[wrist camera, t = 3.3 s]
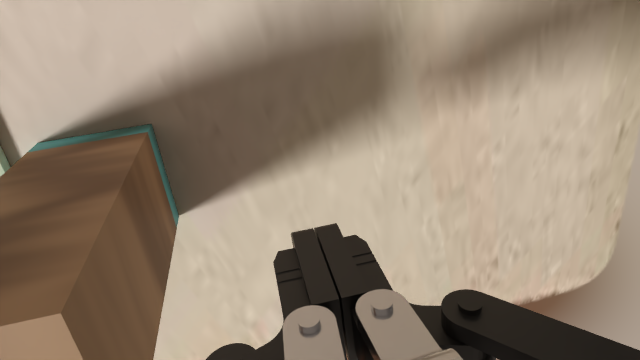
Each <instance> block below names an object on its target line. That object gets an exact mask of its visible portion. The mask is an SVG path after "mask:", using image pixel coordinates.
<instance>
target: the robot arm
mask: <svg viewBox="0 0 640 360" xmlns="http://www.w3.org/2000/svg"><path fill="white" fill-rule="evenodd" d="M291 237H292V243H293V248H292V249H288V250H283V251H278V253H277V255H276V258H275V260H274V262H273V263H274V268H275V274H276V279H277V285H278V290H279V296H280V301H281V306H282V312H283V318H284V322H283V326H282V329H281V330H280V332H279V333H278V335H277V336H276V337H275V338H274V339H273V340H271V341H270V342H269V343H267V344H265V345H264V346H262V347H260V348H258V349H256V350H255V349H254V348H253V347H251V346H249V345H247V344H242V343H234V344H229V345H226V346H223V347H221V348H219V349H217V350H216V351H214V352H213V353H212V354H211V355H210V356H209V357H208V358H207V359H206V360H347V358H346V354H347V357H348V360H496V358H497V359H499V360H640V351H639V350H637V349H634V348H632V347H629V346H626V345H623V344H620V343H617V342H615V341H612V340H610V339H607V338H604V337H601V336H599V335H596V334H593V333H591V332H588V331H585V330H582V329H580V328H577V327H574V326H571V325H569V324H566V323H563V322H561V321H558V320H555V319H552V318H550V317H547V316H544V315H542V314H539V313H536V312H533V311H531V310H528V309H525V308H522V307H520V306H517V305H514V304H512V303H509V302H506V301H503V300H501V299H498V298H495V297H493V296H490V295H487V294H484V293H482V292H478V291H475V290H457V291H454V292H451V293H449V294H448V295H446V296H445V297H444V299H443V301H442V304H441V306H421V305H414V304H411V303H408V301H407V300H406V299H405V298H404V296H402V295H401V294H399V293H398V292H395V291H393V290H392V288H391V286H390V284H389V282H388V281H387V279H386V277H385V275H384V273H383V271H382V270H381V268H380V266H379V264H378V262H376V259H375V257H374V255H373V254H372V251H371V250H370V248H369V246H368V244H367V242H366V241H364V240H363V239H361V238H360V237H358V236H356V235H352V236H347V237H343V236H342V234H341V231H340V229H339V227H338V225H337V224H336V223H335V224H330V225H326V226H321V227H316V228H314V229H313V228H312V229H307V230H302V231H298V232H293V233H291Z"/></svg>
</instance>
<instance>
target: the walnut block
mask: <svg viewBox="0 0 640 360" xmlns="http://www.w3.org/2000/svg"><path fill="white" fill-rule="evenodd" d="M178 218H179V215H178V212H177V208H176V205H175V201H174V198H173V195H172V191H171V188H170V185H169V181H168V178H167V174H166V171H165V168H164V164H163V161H162V158H161V154H160V151H159V147H158V144H157V141H156V137H155V134H154V131H153V127H152V124H147V125H142V126H136V127H130V128H124V129H118V130H112V131H106V132H100V133H94V134H88V135H82V136H76V137H70V138H64V139H58V140H53V141H47V142H41V143H37V144H36V145H35V146H34V147H33V148H32V149H31V150H30V151H28V152H27V153H26V154H25V155H24V156H23V157H22V158H21V159H20V160H18V161H17V162H16V163H15V164H14V165H13V166H12V167H11V168H10V169H8V170H7V171H6V172H5V173H4V174H3V175H2V176H1V177H0V360H153V357H154V351H155V346H156V340H157V335H158V329H159V324H160V318H161V312H162V307H163V301H164V296H165V290H166V285H167V279H168V274H169V268H170V262H171V257H172V251H173V246H174V240H175V235H176V229H177V223H178Z"/></svg>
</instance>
